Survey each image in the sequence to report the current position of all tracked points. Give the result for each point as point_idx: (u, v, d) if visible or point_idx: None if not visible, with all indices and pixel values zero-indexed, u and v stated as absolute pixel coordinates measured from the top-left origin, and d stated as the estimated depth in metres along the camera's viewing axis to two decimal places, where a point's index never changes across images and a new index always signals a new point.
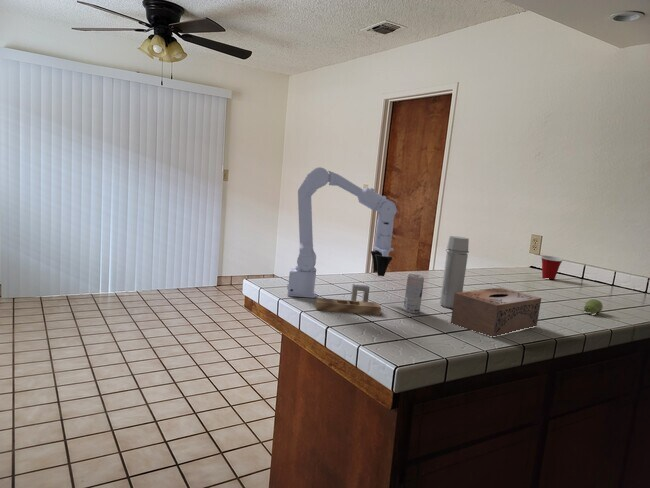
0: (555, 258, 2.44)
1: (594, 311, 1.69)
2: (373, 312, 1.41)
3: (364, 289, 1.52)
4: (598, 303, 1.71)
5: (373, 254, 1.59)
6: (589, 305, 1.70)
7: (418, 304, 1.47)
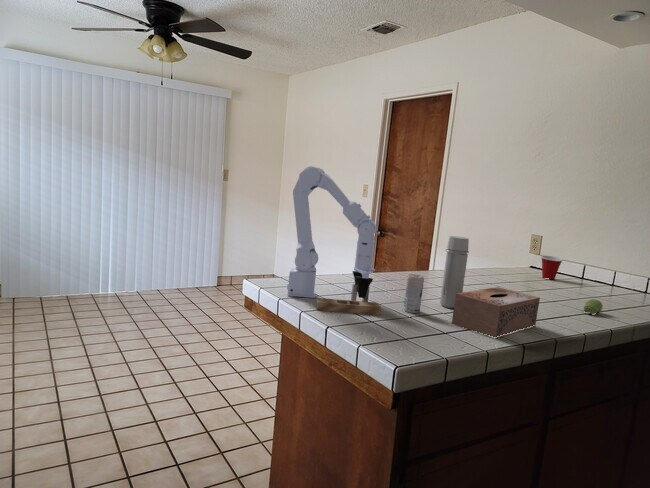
0: (555, 258, 2.44)
1: (594, 311, 1.69)
2: (373, 312, 1.41)
3: None
4: (598, 303, 1.71)
5: (355, 274, 1.56)
6: (589, 305, 1.70)
7: (418, 304, 1.47)
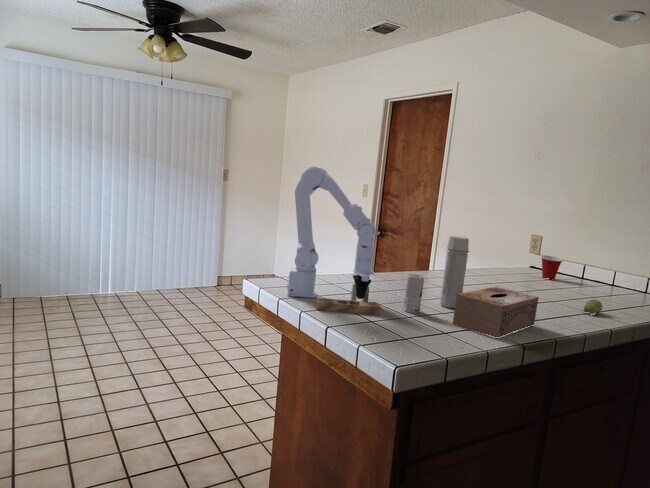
0: (555, 258, 2.44)
1: (594, 311, 1.69)
2: (373, 312, 1.41)
3: None
4: (597, 303, 1.71)
5: (355, 279, 1.54)
6: (589, 305, 1.70)
7: (418, 304, 1.47)
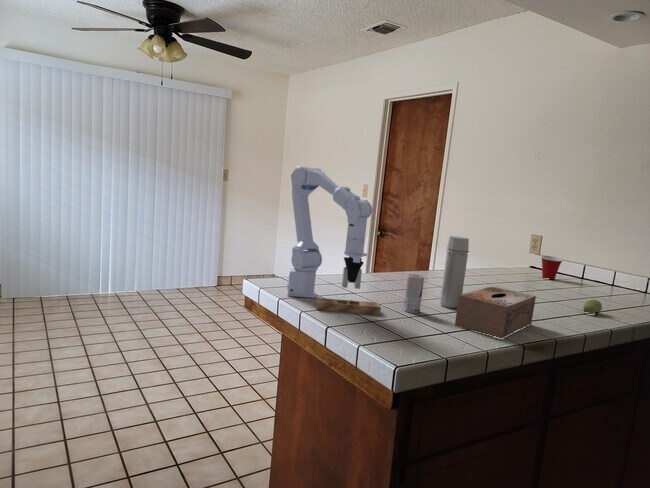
0: (555, 258, 2.44)
1: (593, 311, 1.69)
2: (373, 312, 1.41)
3: None
4: (597, 303, 1.71)
5: None
6: (588, 305, 1.70)
7: (418, 304, 1.47)
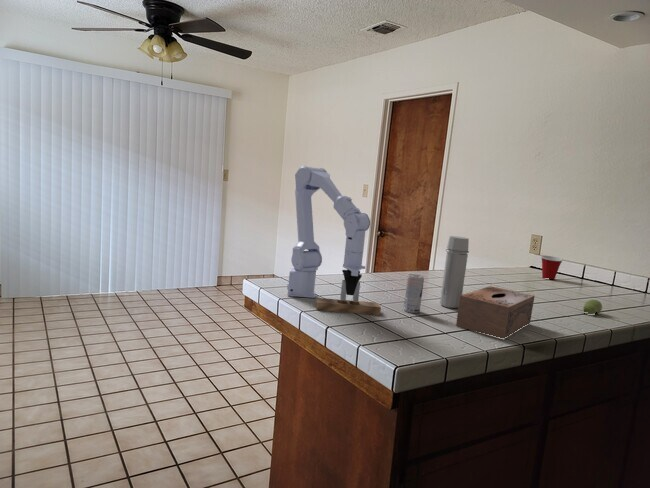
0: (555, 258, 2.44)
1: (593, 311, 1.69)
2: (373, 312, 1.41)
3: None
4: (597, 304, 1.70)
5: None
6: (588, 305, 1.70)
7: (418, 304, 1.47)
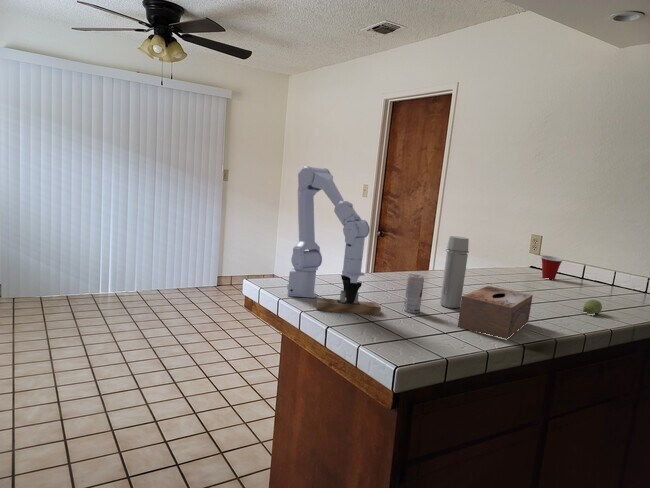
0: (555, 258, 2.44)
1: (593, 311, 1.68)
2: (373, 312, 1.41)
3: None
4: (597, 304, 1.70)
5: (343, 279, 1.45)
6: (588, 305, 1.69)
7: (418, 304, 1.47)
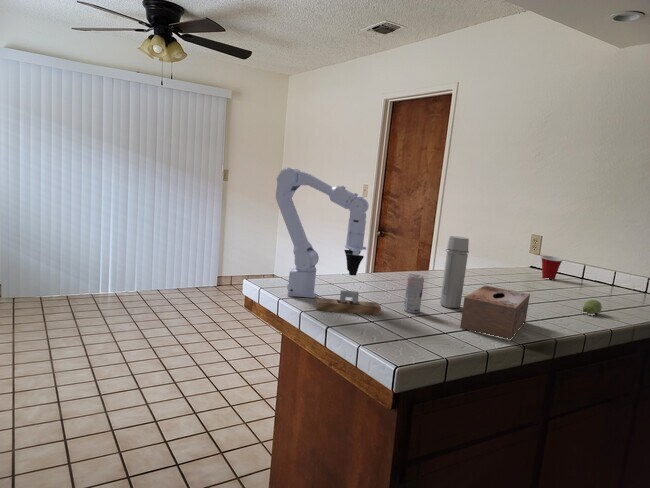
0: (555, 258, 2.44)
1: (593, 312, 1.68)
2: (373, 312, 1.41)
3: (353, 295, 1.42)
4: (597, 304, 1.70)
5: (346, 253, 1.55)
6: (588, 306, 1.69)
7: (418, 304, 1.47)
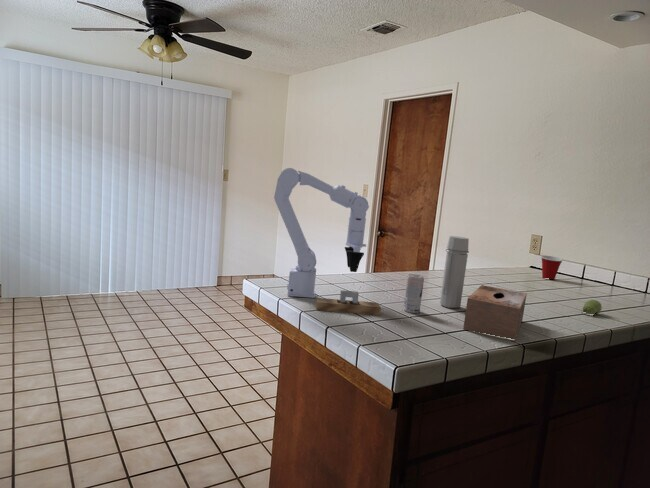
0: (555, 258, 2.44)
1: (593, 312, 1.68)
2: (373, 312, 1.41)
3: (353, 295, 1.42)
4: (597, 304, 1.70)
5: (347, 250, 1.60)
6: (588, 306, 1.69)
7: (418, 304, 1.47)
